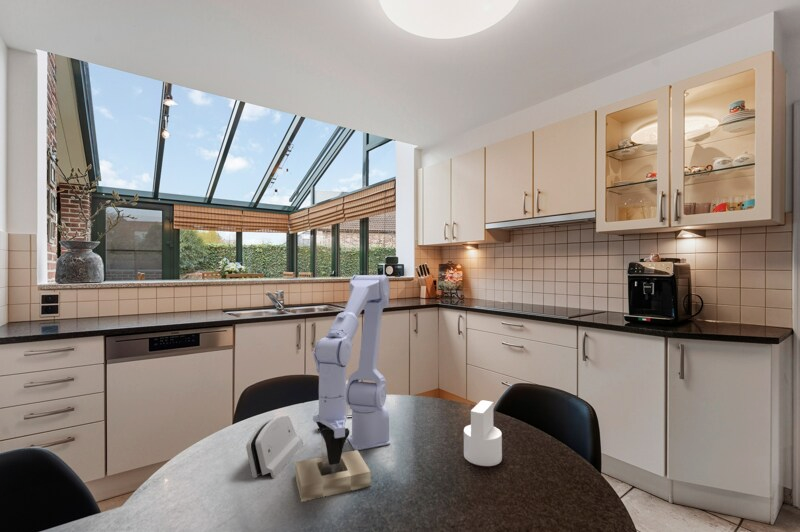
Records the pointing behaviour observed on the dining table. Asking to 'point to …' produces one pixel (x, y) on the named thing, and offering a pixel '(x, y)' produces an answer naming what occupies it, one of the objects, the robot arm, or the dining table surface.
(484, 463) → the base with upright slab
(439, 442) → the dining table surface
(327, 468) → the tall pin
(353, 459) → the hole plate
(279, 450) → the white slotted housing
